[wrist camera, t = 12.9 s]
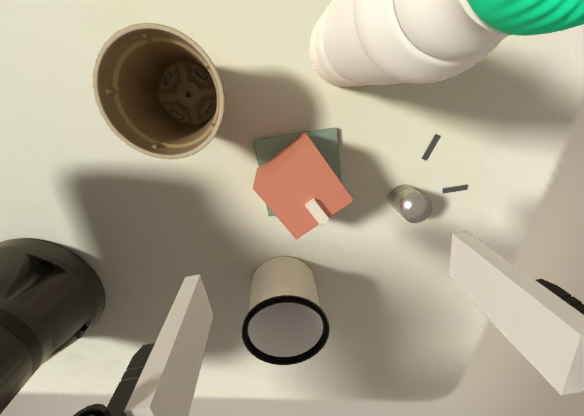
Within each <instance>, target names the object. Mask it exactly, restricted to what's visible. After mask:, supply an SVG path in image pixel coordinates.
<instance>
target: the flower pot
mask: <svg viewBox="0 0 584 416" xmlns="http://www.w3.org/2000/svg"><path fill="white" fill-rule="evenodd" d="M196 70H201V71H202V72H203V73H204V74H205V75H206V76H207V79H206V80H204V79H203V78H201V77H200V76H199V75H198V74H196ZM169 72H170V73H172V78H171V79H170V80H169V82H168V84H167V85H165V79H166V77H167V75H168V73H169ZM93 88H94V95H95V99H96V103H97V106H98V108H99V110H100V112H101V114H102V116H103V118H104V120H105V121H106V123H107V125H108V126H109V127H110V128H111V130H112V131H113V132H114V133H115V134H116V135H117V136H118V137H119V138H120V139H121V140H122V141H124V142H125V143H126V144H128V145H129V146H130V147H132V148H134V149H136V150H137V151H139V152H142V153H144V154H146V155H149V156H153V157H156V158H162V159H178V158H184V157H187V156H191V155H193V154H195V153H197V152H199V151H200V150H202V149H203V148H204V147H205V146H207V145H208V144H209V143H210V141H211V140H212V139H213V138H214V136H215V135H216V133H217V132H218V130H219V127H220V125H221V122H222V119H223V114H224V103H225V101H224V91H223V86H222V82H221V79H220V76H219V74H218V72H217V70H216V68H215V66H214V64H213V62H212V61H211V59H210V58H209V56H208V55H207V54H206V52H205V51H204V50H203V49H202V48H201V47H200V46H199V45H198V44H197V43H196V42H195V41H193V40H192V39H191V38H189V37H188V36H187V35H185V34H183V33H182V32H180V31H178V30H176V29H173V28H171V27H168V26H164V25H160V24H154V23H141V24H135V25H131V26H128V27H125V28H123V29H121V30H119V31H117V32H116V33H115V34H114V35H112V36H111V37H110V38H109V40H108V41H107V42H106V43H105V44H104V46H103V47H102V48H101V50H100V52H99V54H98V57H97V59H96V63H95V66H94V71H93ZM187 93H190V97H187V95H186V94H187ZM211 105H212V106H213V107H212V109H211V111H210V112H209V113H208V114H206V112H207V110H208V109H207V108H209V107H210V106H211ZM173 110H174V111H175V112H176V113H178V114H179V115H181V116H182V117H183V119H178V118H177V117H176V116H174V115H173V113H172V111H173Z"/></svg>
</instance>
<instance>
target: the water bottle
mask: <svg viewBox="0 0 584 416" xmlns="http://www.w3.org/2000/svg"><path fill="white" fill-rule="evenodd" d="M582 24H584V0H333V1H332V2H331V3H330V4H329V5H328V7H327V8H326V10H325V11H324V13H323V15H322V16H321V17H320V18H319V20H318V21H317V23H316V25H315V27H314V29H313V32H312V35H311V39H310V57H311V61H312V64H313V66H314V68H315V70H316V72H317V73H318V74H319V76H320V77H321V78H322V79H323V80H325V81H326V82H328V83H330V84H332V85H335V86H339V87H349V86H362V85H390V84H399V83H405V82H408V83H416V84H425V83H434V82H439V81H443V80H446V79H449V78H452V77H454V76H456V75H459V74H461V73H463V72H464V71H466V70H468V69H470V68H471V67H473V66H474V65H475V64H477V63H478V62H480V61H481V60H482V59H483V58H485V57H486V56H487V55H488V54H489V53H490V52H491V51H492V50H493V49H494V48H495V47H496V46H497V45H498V44H499V43H500V42H501V41H502V40H503V39H504V38H506V37H507V36H508V35H523V36H526V35H537V34H545V33H551V32H556V31H561V30H566V29H569V28H572V27H575V26H579V25H582Z"/></svg>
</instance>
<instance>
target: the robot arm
mask: <svg viewBox="0 0 584 416" xmlns="http://www.w3.org/2000/svg"><path fill="white" fill-rule="evenodd" d="M449 278H450V279H451V280H452V281H453V282H454V283H455V284H456V285H457V286H458V287H459V289H460V290H461V291H462V292H463V293H464V294H465V295H466V296H467V297H468V298H469V299H470V300H471V301H472V302H473V303H474V304H475V305H476V306H477V307H478V309H479V310H480V311H481V312H482V313H483V314H484V315H485V316H486V317H487V318H488V319H489V320H490V321H491V322H492V323H493V324H494V325H495V326H496V327H497V328H498V330H499V331H501V333H502V334H503V335H504V336H505V337H506V338H507V339H508V340H509V341H510V342H511V343H512V344H513V345H514V346H515V347H516V348H517V349H518V351H519V352H520V353H521V354H522V355H523V356H524V357H525V358H526V359H527V360H528V361H529V362H530V363H531V364H532V365H533V366H534V367H535V368H536V369H537V370H538V372H539V373H540V374H541V375H542V376H543V377H544V378H545V379H546V380H547V381H548V382H549V383H550V384H551V385H552V386H553V387H554V389H555V390H556V391H557V392H558V393H559V394H560V395H567V394H572V393H578V392H583V391H584V305H583V304H582V302H581V301H579V300H577V299H576V298H575V297H571V295H570V294H569V293H567V292H566V291H564V290H563V289H562V288H560V287H558V286H557V285H554V284H552V283H550V282H548V281H545V280H543V279H538V280H534V279H533V278H531V277H530V276H528V275H527V274H526V273H524V272H523V271H522V270H520V269H519V268H518V267H516V266H515V265H513V264H512V263H511V262H509V261H508V260H507V259H505V258H504V257H502V256H501V255H500V254H498V253H497V252H495V251H494V250H493V249H491V248H490V247H488V246H487V245H486V244H484V243H483V242H482V241H480V240H479V239H477V238H476V237H475V236H473V235H472V234H470V233H469V232H468V231H464V232H458V233H452V243H451V255H450V267H449ZM104 302H105V296H104V290H103V287H102V284H101V282H100V280H99V278H98V277H97V275H96V274H95V272H94V271H93V270H92V269H91V267H90V266H89V265H88V264H87V263H86V262H84V261H83V260H82V259H81V258H79V257H78V256H77V255H75V254H74V253H72V252H70V251H68V250H67V249H65V248H63V247H60V246H58V245H55V244H52V243H49V242H46V241H41V240H36V239H11V240H6V241H3V242H0V414H1V413H2V411H3V410H4V409H5V408H6V407H7V405H8V404H9V403H10V402H11V400H12V399H13V398H14V397H15V396H16V394H17V393H18V392H19V391H20V389H21V388H22V387H23V386H24V385H25V383H26V382H27V381H28V380H29V378H30V377H31V376H32V375H33V374H34V373H35V371H36V370H37V369H38V368H39V367H40V366H41V365H42V364H43V363H45V362H46V361H48V360H49V359H50V358H52V357H53V356H55V355H56V354H58V353H59V352H60V351H62V350H63V349H65V348H66V347H68V346H69V345H71V344H72V343H73V342H75V341H76V340H78V339H79V338H81V337H82V336H83V335H84V334H85V333H86V332H87V331H88V330H89V329H90V328H91V327H92V325H93V324H94V323H95V322H96V320H97V319H98V318H99V316H100V315H101V313H102V311H103V308H104ZM213 316H214V315H213V312H212V309H211V306H210V303H209V300H208V297H207V294H206V291H205V288H204V284H203V281H202V278H201V275H200V274H199V275H193V276H187V277H185V279H184V281H183V283H182V285H181V287H180V290H179V292H178V294H177V296H176V298H175V301H174V303H173V305H172V307H171V309H170V312H169V314H168V316H167V318H166V320H165V323H164V325H163V327H162V329H161V331H160V334H159V336H158V338H157V340H156V342H155V343H153V344H147V345H143V346H142V347H141V348H140V349H139V350H138V352H137V353H136V354H135V355H134V356H133V357H132V359H131V361H130V363H129V365H128V367H127V371H125V373H124V375H123V377H122V379H121V382H120V383H119V385H118V387H117V388H116V390H115V392H114V394H113V396H112V398H111V400H110V402H109V404H108V406H107V408H106V407H105V406H104V405H102V404H94V405H91V406H87V407H86V408H84V409H82V410H80V411H79V412H77V413H76V414H75V415H74V416H188V415H189V411H190V407H191V403H192V400H193V396H194V392H195V388H196V384H197V380H198V376H199V372H200V368H201V364H202V360H203V356H204V352H205V348H206V344H207V340H208V336H209V332H210V328H211V324H212V320H213Z"/></svg>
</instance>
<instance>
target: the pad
mask: <svg viewBox="0 0 584 416" xmlns="http://www.w3.org/2000/svg"><path fill="white" fill-rule="evenodd" d="M305 133H306V134H307V136H308V137H309V138H310V140H311V141H312V142H313V144H314V145H315V147H316V148H317V149H318V151H319V152H320V154H321V155H322V157H323V158H324V159H325V161H326V162H327V164H328V165H329V166H330V168H331V169H332V171H333V172H334V173H335V175H336V176H337V178H338V179H339V181H340V182H341V177H340V165H339V152H338V140H337V128H330V129H323V130H317V131H311V132H305ZM302 134H303V133H298V134H292V135H285V136H279V137H273V138H266V139H260V140H254V144H255V149H256V154H257V159H258V164H259V167H260V166H261V165H262V164H264V163H265V162H266V161H268V160H269V159H270V158H272V157H273V156H274V155H276V154H277V153H278V152H279V151H281V150H282V149H283V148H285V147H286V146H287V145H289V144H290V143H291V142H293V141H294V140H295V139H297V138H298V137H299V136H300V135H302ZM266 205H267V204H266ZM267 210H268V215H269V216H274V215H275V214H274V213H273V211H272V210H271V209H270V208H269V207H268V206H267Z"/></svg>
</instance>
